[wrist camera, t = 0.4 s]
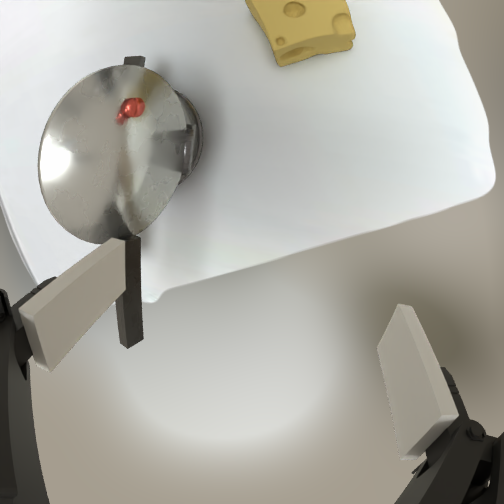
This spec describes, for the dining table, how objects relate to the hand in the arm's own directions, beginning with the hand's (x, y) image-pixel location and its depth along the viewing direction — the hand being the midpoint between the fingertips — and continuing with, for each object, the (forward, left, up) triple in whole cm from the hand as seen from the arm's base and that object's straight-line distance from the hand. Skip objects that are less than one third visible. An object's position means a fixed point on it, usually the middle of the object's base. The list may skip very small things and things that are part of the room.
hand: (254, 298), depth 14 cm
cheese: (-22, -2, -31) cm, 38 cm away
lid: (+3, -15, -14) cm, 21 cm away
